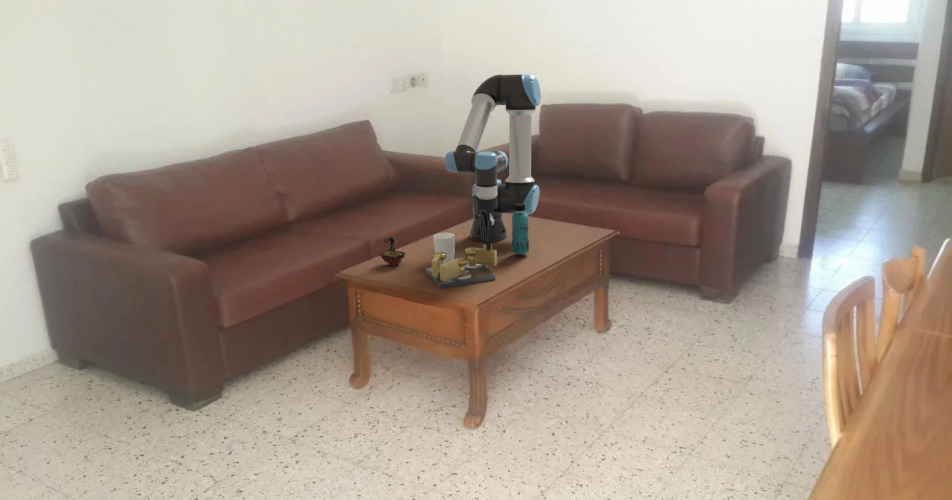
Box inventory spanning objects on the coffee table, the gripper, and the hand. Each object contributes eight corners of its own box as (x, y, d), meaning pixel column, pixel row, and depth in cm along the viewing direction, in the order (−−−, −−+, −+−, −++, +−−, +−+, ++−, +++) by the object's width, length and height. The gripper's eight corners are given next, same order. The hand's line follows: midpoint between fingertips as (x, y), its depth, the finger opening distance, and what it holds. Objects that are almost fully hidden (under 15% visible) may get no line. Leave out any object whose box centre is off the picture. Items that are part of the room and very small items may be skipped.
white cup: (446, 256, 301) (444, 231, 298) (460, 260, 295) (459, 235, 292) (430, 261, 295) (429, 236, 292) (444, 266, 290) (443, 240, 287)
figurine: (410, 263, 294) (408, 232, 290) (397, 270, 288) (395, 238, 284) (389, 260, 299) (386, 229, 295) (376, 266, 293) (373, 235, 289)
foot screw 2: (460, 271, 277) (460, 254, 275) (471, 273, 274) (470, 257, 272) (437, 280, 268) (436, 264, 266) (447, 283, 265) (446, 266, 263)
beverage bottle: (508, 256, 298) (507, 204, 292) (519, 251, 303) (518, 201, 296) (521, 259, 294) (520, 207, 288) (533, 254, 298) (532, 203, 292)
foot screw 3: (463, 265, 283) (462, 249, 281) (469, 261, 287) (468, 245, 285) (492, 269, 277) (492, 252, 276) (498, 264, 281) (498, 248, 280)
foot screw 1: (434, 266, 283) (433, 250, 281) (448, 266, 282) (447, 250, 280) (428, 277, 272) (427, 261, 270) (442, 277, 271) (441, 261, 269)
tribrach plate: (478, 264, 290) (478, 255, 289) (495, 279, 274) (495, 270, 273) (426, 272, 284) (425, 263, 283) (440, 288, 268) (439, 279, 267)
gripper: (470, 193, 281) (472, 255, 288) (482, 202, 269) (483, 267, 277) (490, 191, 283) (492, 253, 291) (503, 199, 271) (503, 264, 279)
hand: (488, 260), depth 284 cm, fingers closed
